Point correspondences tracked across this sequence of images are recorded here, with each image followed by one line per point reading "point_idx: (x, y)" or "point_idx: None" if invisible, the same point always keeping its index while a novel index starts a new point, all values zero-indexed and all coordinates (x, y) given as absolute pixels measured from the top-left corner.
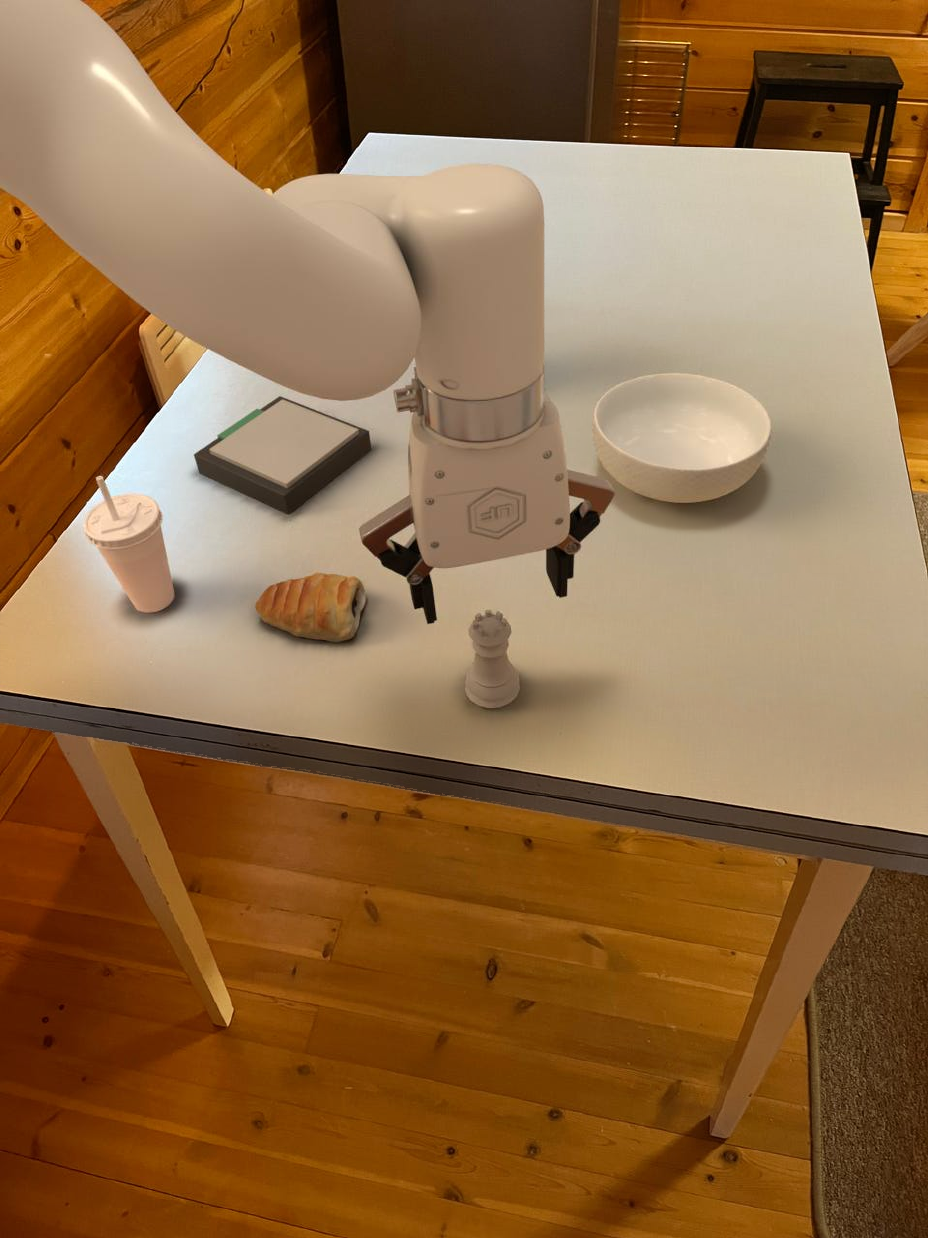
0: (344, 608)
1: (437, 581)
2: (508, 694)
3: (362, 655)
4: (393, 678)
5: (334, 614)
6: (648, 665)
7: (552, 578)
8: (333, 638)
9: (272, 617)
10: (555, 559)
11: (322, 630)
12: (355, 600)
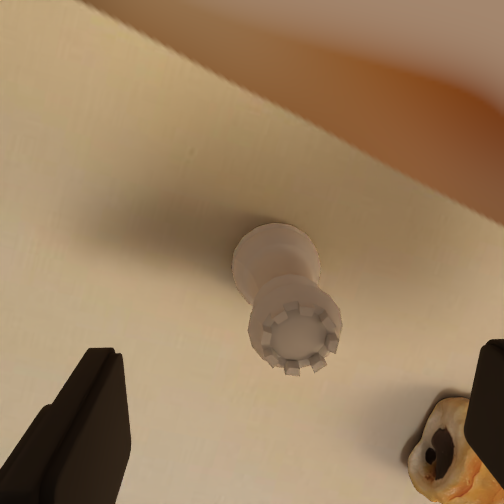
0: None
1: (296, 469)
2: (260, 233)
3: (436, 367)
4: (408, 318)
5: None
6: (15, 251)
7: (117, 416)
8: None
9: None
10: (70, 490)
11: None
12: (426, 459)
